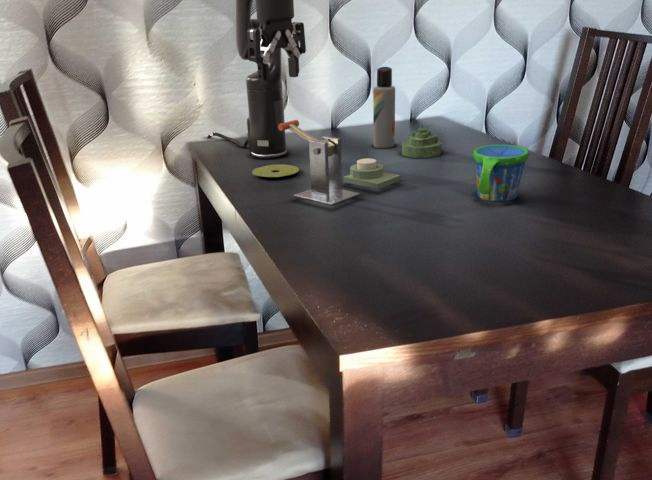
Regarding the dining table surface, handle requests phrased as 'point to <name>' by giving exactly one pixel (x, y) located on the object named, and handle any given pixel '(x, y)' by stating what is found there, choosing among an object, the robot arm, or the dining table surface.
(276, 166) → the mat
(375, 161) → the button
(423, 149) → the decorative artifact
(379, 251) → the dining table surface
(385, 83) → the lotion bottle
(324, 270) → the dining table surface
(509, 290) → the dining table surface
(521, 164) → the snack cup
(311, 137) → the lever
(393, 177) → the control block
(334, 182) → the bracket
